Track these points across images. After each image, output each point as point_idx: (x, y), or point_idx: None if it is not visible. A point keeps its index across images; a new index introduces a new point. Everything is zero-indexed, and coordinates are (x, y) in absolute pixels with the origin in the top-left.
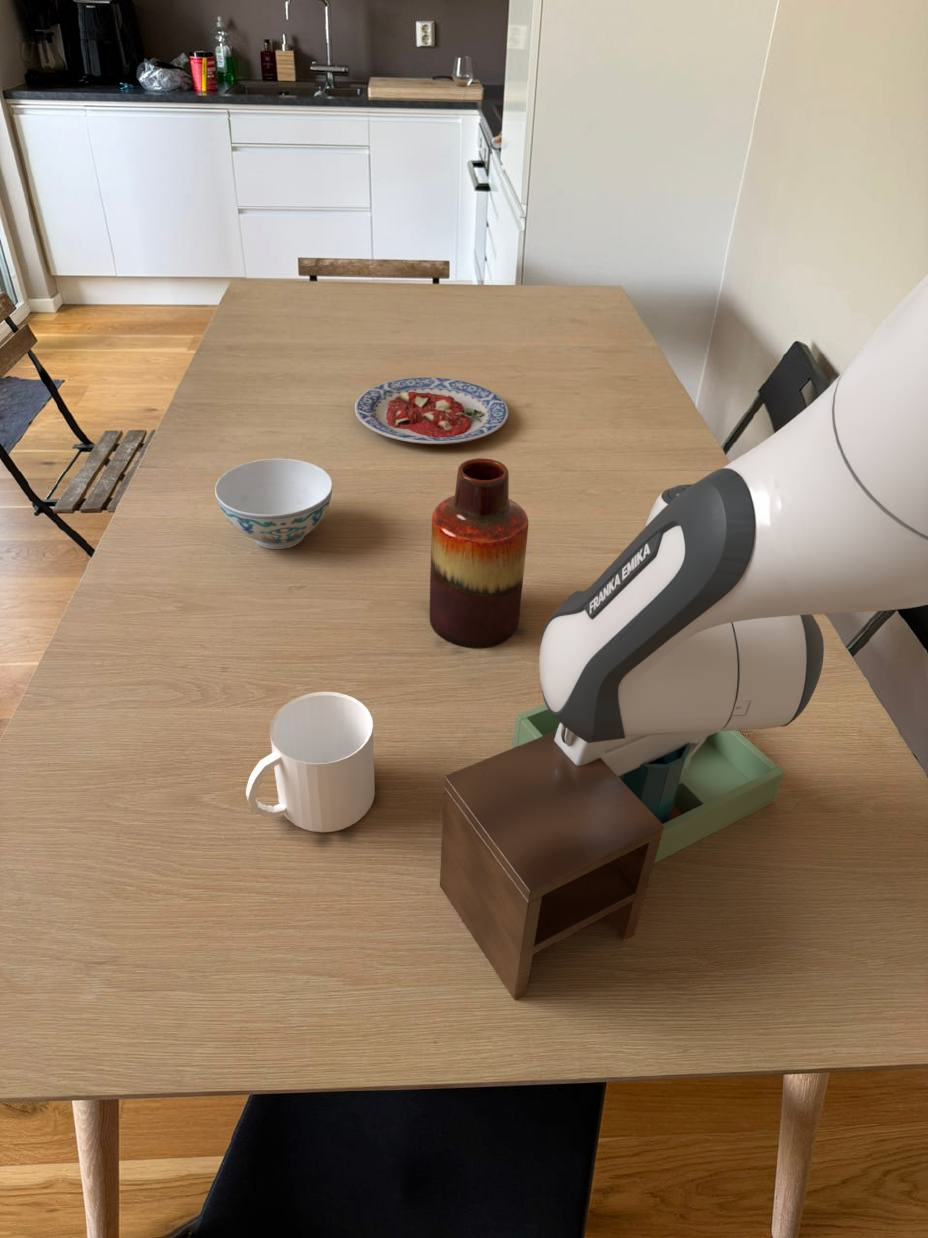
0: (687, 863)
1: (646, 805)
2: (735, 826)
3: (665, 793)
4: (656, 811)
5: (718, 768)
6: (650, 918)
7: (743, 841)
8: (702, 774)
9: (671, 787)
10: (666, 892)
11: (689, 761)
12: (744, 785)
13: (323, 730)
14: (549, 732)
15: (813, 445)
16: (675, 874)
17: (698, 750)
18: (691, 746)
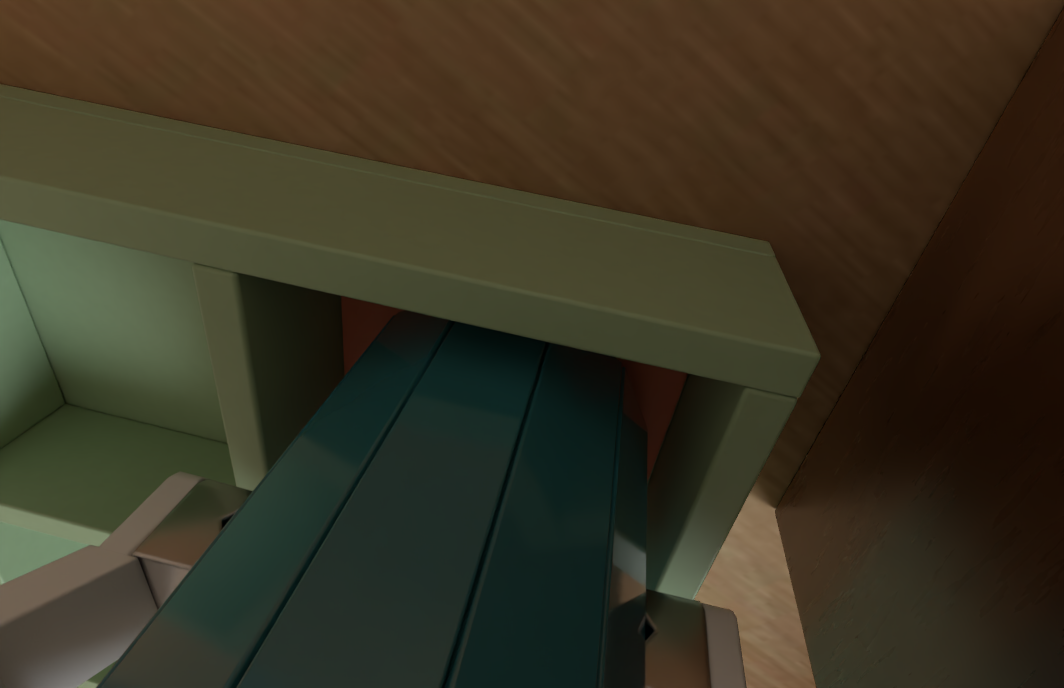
0: (485, 110)
1: (574, 499)
2: (168, 100)
3: (450, 528)
4: (527, 422)
5: (83, 318)
6: (903, 5)
7: (179, 16)
8: (155, 340)
9: (388, 552)
10: (696, 63)
11: (139, 511)
12: None
13: None
14: None
15: None
16: (577, 106)
17: (114, 402)
18: (42, 626)
